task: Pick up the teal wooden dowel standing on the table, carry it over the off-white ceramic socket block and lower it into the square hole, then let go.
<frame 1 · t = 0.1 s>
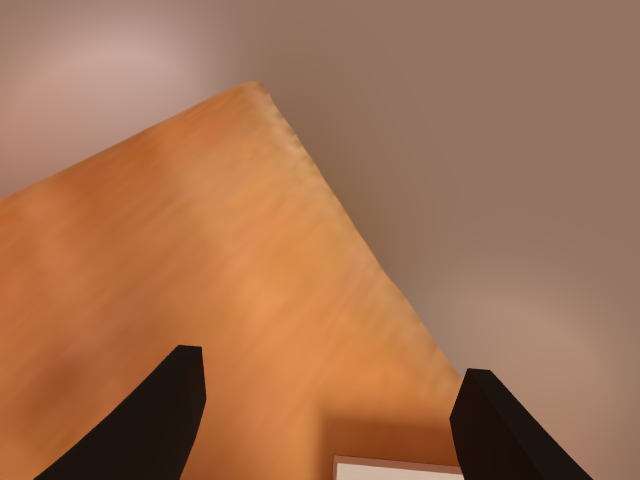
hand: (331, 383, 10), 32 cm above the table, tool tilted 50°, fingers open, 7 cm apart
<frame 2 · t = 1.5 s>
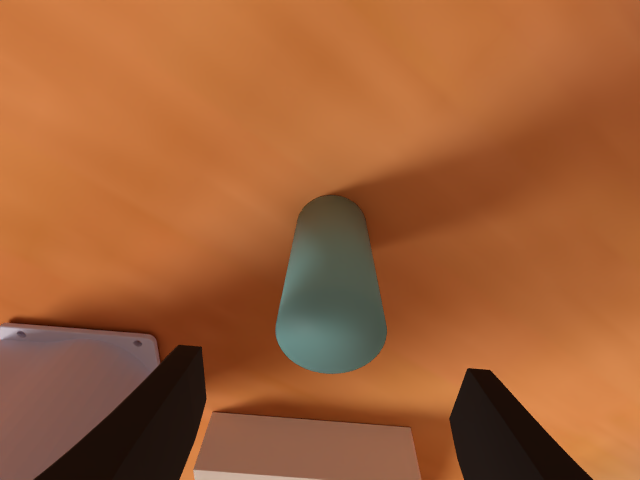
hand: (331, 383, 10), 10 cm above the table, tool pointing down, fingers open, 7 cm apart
socket block: (305, 478, 29), on the table
dowel: (331, 227, 19), on the table
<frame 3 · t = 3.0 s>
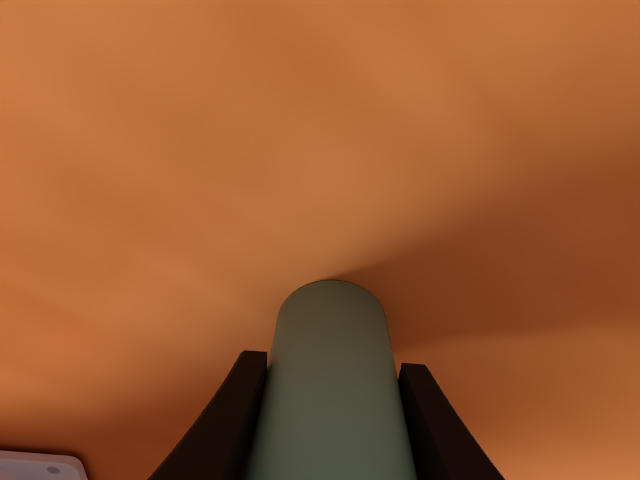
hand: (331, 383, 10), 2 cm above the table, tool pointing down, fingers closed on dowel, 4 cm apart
dowel: (331, 325, 12), on the table, touching gripper
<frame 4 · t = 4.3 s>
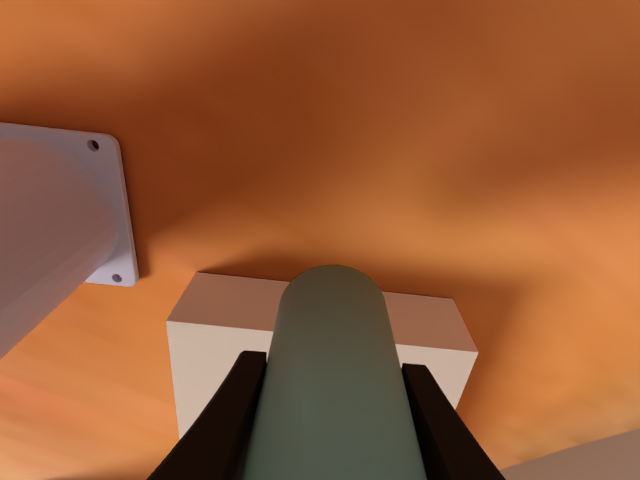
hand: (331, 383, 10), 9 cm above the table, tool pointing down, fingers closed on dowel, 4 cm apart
socket block: (313, 377, 23), on the table
dowel: (332, 312, 12), point 7 cm above the table, touching gripper
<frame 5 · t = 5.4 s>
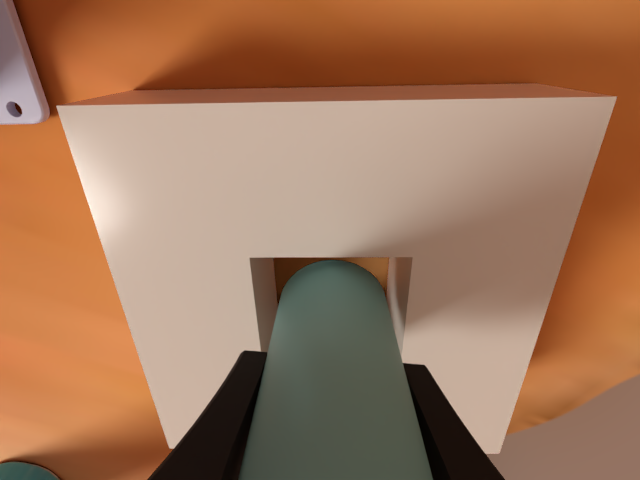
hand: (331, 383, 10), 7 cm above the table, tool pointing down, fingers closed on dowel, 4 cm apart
socket block: (331, 261, 16), on the table
tube: (33, 478, 25), on the table
dowel: (332, 307, 12), point 4 cm above the table, touching gripper
when the fingers open (5 cm above the table, at t = 6.1 s): dowel drops 2 cm, resting in socket block.
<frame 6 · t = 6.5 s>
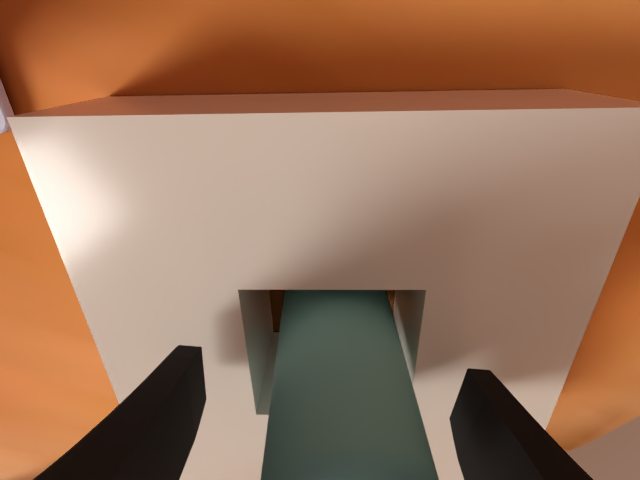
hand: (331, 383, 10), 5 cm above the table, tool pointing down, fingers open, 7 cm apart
socket block: (331, 283, 14), on the table
dowel: (333, 275, 14), resting in socket block
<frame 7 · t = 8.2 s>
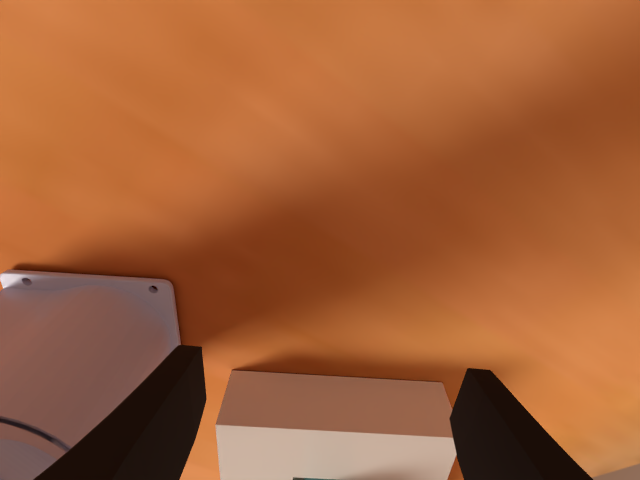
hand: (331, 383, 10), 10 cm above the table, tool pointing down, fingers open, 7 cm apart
socket block: (329, 444, 27), on the table
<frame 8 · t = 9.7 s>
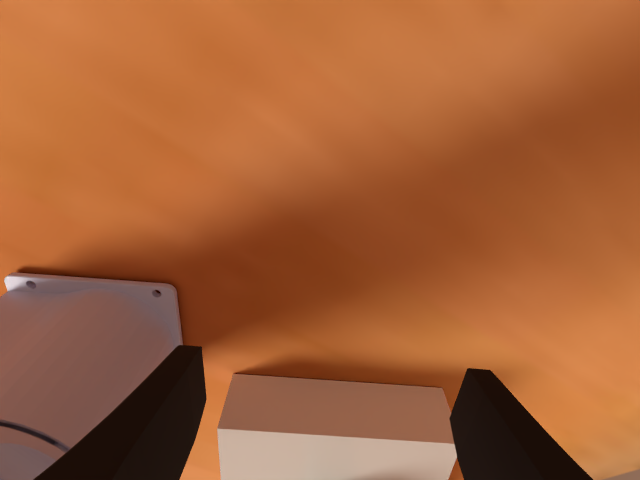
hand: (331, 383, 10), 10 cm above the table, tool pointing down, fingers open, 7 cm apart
socket block: (329, 447, 28), on the table
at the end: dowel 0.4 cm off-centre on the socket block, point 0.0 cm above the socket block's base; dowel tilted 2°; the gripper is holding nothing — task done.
